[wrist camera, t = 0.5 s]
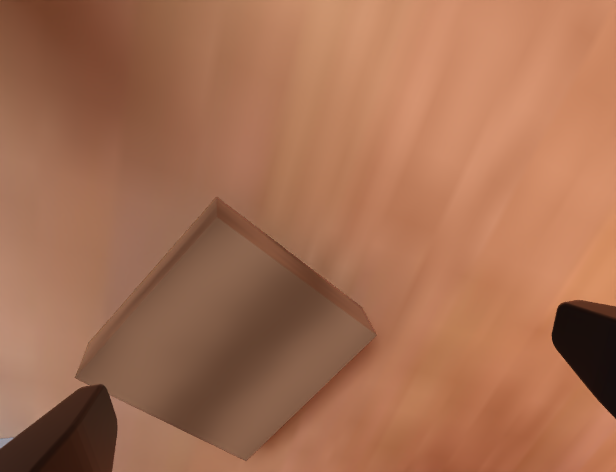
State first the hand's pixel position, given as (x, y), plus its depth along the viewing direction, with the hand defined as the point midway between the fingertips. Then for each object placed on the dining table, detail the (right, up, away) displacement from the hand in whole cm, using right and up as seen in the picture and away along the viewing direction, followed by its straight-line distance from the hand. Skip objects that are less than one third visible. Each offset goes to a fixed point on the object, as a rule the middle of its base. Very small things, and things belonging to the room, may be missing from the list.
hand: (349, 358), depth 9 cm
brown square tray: (-5, -2, +16) cm, 16 cm away
